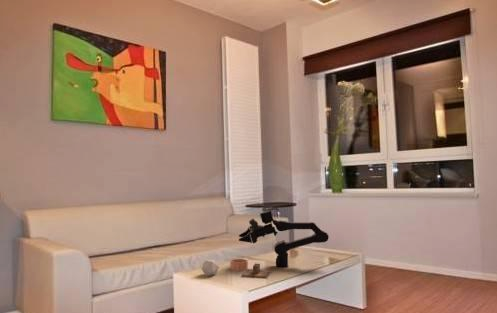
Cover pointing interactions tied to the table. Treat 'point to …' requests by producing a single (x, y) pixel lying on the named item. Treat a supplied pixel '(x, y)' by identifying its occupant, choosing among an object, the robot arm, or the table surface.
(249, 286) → the table surface
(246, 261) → the bowl
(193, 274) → the table surface
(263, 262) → the table surface
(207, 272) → the die
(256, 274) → the lid
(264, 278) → the tray
